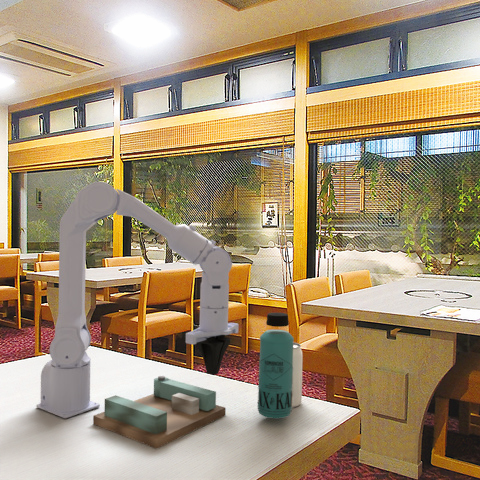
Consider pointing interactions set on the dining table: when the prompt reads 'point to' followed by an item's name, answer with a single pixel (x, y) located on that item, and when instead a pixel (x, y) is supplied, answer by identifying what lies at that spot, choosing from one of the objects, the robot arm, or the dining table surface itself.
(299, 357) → the can
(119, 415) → the wooden board
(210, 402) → the folding leg
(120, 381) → the dining table surface
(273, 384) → the beverage bottle
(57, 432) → the dining table surface
